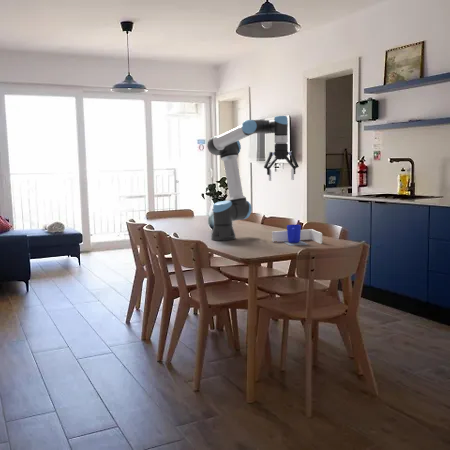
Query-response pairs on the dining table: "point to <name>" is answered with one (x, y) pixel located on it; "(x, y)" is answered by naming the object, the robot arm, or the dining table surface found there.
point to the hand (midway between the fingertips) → (281, 180)
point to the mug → (293, 233)
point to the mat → (295, 243)
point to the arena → (303, 235)
